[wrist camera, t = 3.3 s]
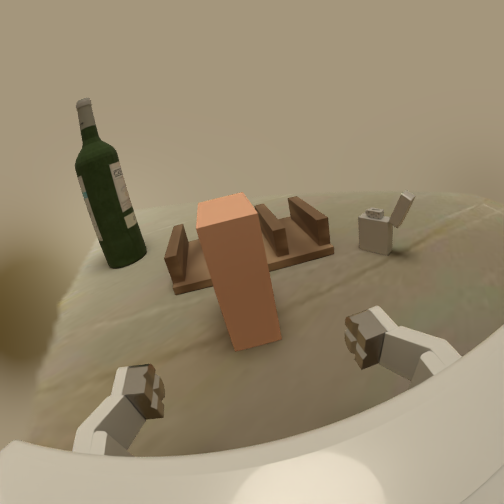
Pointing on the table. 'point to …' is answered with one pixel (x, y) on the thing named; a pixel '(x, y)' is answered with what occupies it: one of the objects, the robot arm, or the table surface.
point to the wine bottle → (106, 194)
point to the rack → (274, 237)
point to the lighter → (382, 225)
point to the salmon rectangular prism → (239, 269)
